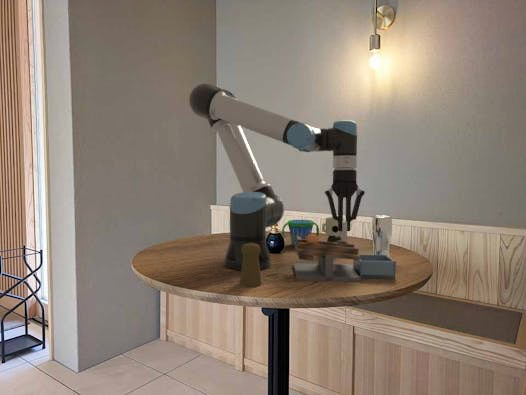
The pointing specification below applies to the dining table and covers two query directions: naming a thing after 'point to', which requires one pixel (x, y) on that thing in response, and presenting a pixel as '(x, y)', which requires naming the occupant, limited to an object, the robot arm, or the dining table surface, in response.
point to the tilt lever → (325, 249)
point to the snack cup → (300, 229)
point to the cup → (375, 266)
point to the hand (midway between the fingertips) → (344, 241)
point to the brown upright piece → (250, 265)
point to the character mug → (332, 230)
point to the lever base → (325, 271)
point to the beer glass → (381, 234)
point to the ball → (312, 239)
